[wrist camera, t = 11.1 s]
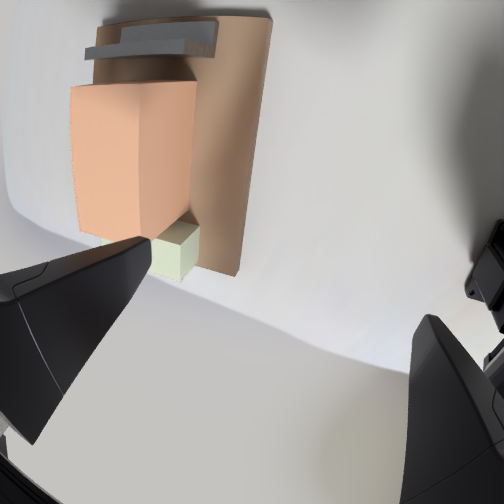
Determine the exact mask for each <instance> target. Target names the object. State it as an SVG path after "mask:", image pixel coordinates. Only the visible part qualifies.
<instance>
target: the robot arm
mask: <svg viewBox="0 0 504 504" xmlns="http://www.w3.org/2000/svg"><path fill="white" fill-rule="evenodd" d="M503 224H504V219H499V220H498V221H497V223H496V225H495V228H494V230H493V232H492V235H491V237H490V239H489V242H488V244H487V245H486V246H485V248H484V250H483V252H482V255H481V257H480V259H479V261H478V263H477V265H476V267H475V269H474V271H473V273H472V277H471V279H470V281H469V283H468V285H467V287H466V289H465V293H466V295H467V297H468V298H471V299H474V300H478V301H481V302H485V304H486V306H487V308H488V310H489V311H491V313H492V315H493V318H494V320H495V322H496V325H497V327H498V330H499V332H500V333H502V334H504V227H503V228H502V229H501V226H502V225H503ZM151 263H152V248H151V240H150V239H149V238H146V237H143V236H136V237H132V238H128V239H125V240H121V241H117V242H114V243H110V244H106V245H103V246H99V247H96V248H92V249H89V250H85V251H82V252H79V253H75V254H71V255H68V256H65V257H61V258H58V259H55V260H51V261H50V262H44V263H41V264H38V265H34V266H31V267H28V268H24V269H20V270H16V271H13V272H8V273H4V274H0V504H63V503H61V502H60V501H59V500H57V499H56V498H54V497H53V496H52V495H50V494H49V493H48V492H47V491H45V490H44V489H43V488H41V487H40V486H39V485H38V484H36V483H35V482H34V481H33V480H31V479H30V478H29V477H28V476H27V475H25V474H24V473H23V472H22V471H21V470H20V469H18V468H17V467H16V466H15V465H14V464H13V463H12V462H11V461H10V460H9V459H8V456H7V446H6V437H5V436H4V435H3V433H4V432H5V431H6V429H7V428H8V427H9V426H10V427H11V428H12V429H13V430H14V431H16V432H17V433H18V434H19V435H20V436H21V437H23V438H24V439H25V440H26V441H27V442H29V443H30V444H31V445H33V444H34V443H35V442H36V440H37V438H38V437H39V435H40V433H41V432H42V430H43V428H44V427H45V425H46V424H47V422H48V420H49V419H50V417H51V415H52V414H53V412H54V411H55V409H56V407H57V406H58V404H59V403H60V401H61V400H62V398H63V395H64V394H65V393H66V392H67V390H68V389H69V387H70V385H71V384H72V383H73V381H74V379H75V378H76V377H77V375H78V373H79V372H80V371H81V369H82V368H83V366H84V365H85V363H86V361H87V360H88V359H89V357H90V356H91V354H92V353H93V351H94V350H95V349H96V347H97V346H98V344H99V343H100V342H101V340H102V339H103V337H104V336H105V334H106V333H107V332H108V330H109V329H110V327H111V326H112V325H113V323H114V322H115V320H116V319H117V318H118V316H119V315H120V314H121V312H122V311H123V309H124V308H125V307H126V305H127V304H128V303H129V301H130V300H131V298H132V296H133V295H134V293H135V292H136V290H137V288H138V286H139V284H140V283H141V281H142V280H143V278H144V276H145V275H146V273H147V271H148V270H149V268H150V266H151ZM471 290H473V291H472V292H470V291H471ZM408 404H409V405H408V427H407V442H406V455H405V465H404V475H403V482H402V490H401V497H400V503H399V504H504V338H503V340H502V341H501V342H500V343H499V344H498V345H497V347H496V348H495V349H494V350H493V351H492V352H491V353H489V354H488V355H487V356H486V357H485V358H484V367H483V371H482V370H481V369H480V367H479V366H478V365H477V363H476V362H475V361H474V360H473V358H472V357H471V356H470V354H469V353H468V352H467V351H466V349H465V348H464V347H463V346H462V345H461V343H460V342H459V341H458V340H457V338H456V337H455V336H454V335H453V334H452V332H451V331H450V330H449V329H448V328H447V326H446V325H445V324H444V323H443V322H442V321H441V319H440V318H439V317H438V316H435V315H431V314H426V315H425V316H424V317H423V319H422V321H421V322H420V324H419V326H418V328H417V329H416V331H415V333H414V335H413V340H412V353H411V364H410V374H409V402H408Z"/></svg>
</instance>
